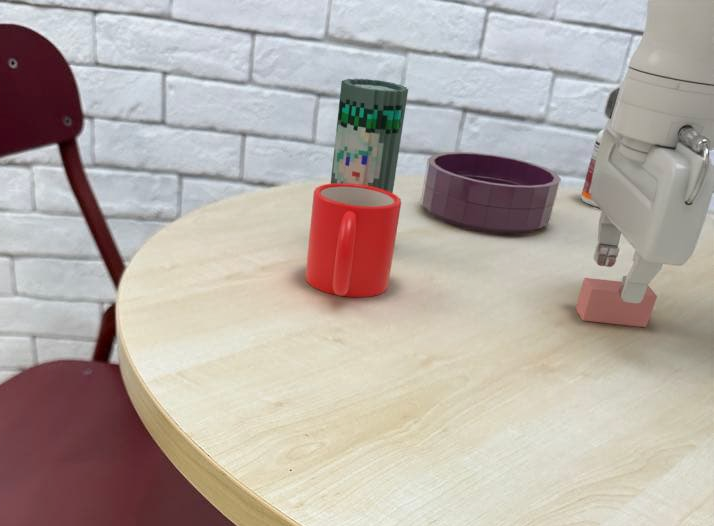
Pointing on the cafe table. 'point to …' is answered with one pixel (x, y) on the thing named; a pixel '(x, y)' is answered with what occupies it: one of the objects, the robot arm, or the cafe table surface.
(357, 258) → the mug
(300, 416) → the cafe table surface
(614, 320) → the eraser
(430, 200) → the bowl
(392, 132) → the can
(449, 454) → the cafe table surface
